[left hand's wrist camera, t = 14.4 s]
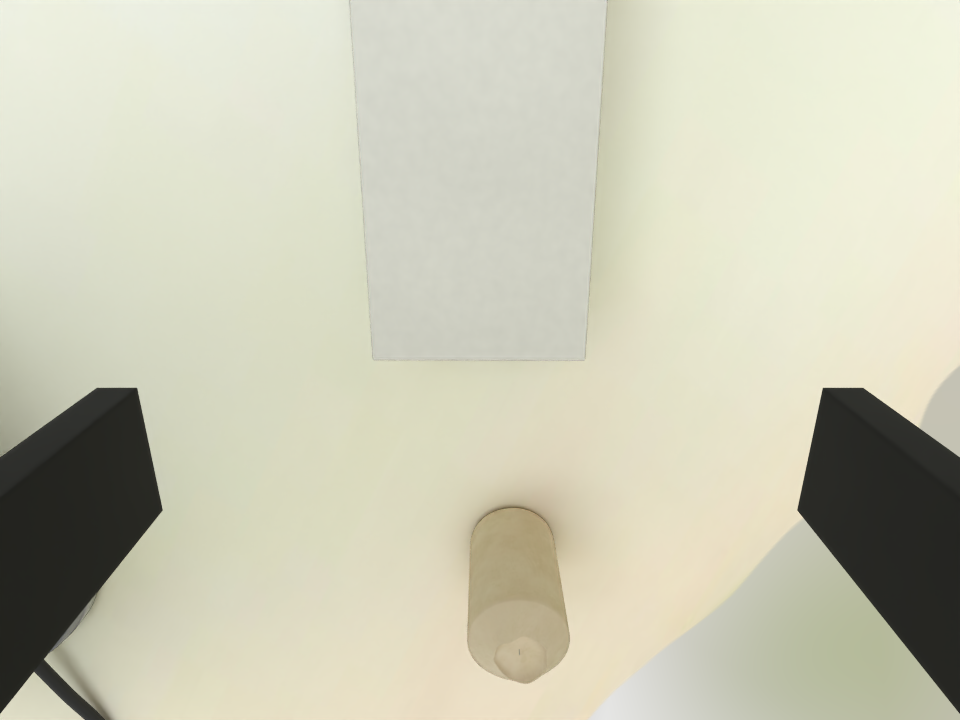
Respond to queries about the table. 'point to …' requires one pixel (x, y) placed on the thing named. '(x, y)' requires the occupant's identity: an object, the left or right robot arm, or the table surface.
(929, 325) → the table surface
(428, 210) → the light grey rectangular bar
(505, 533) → the candle
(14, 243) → the table surface
